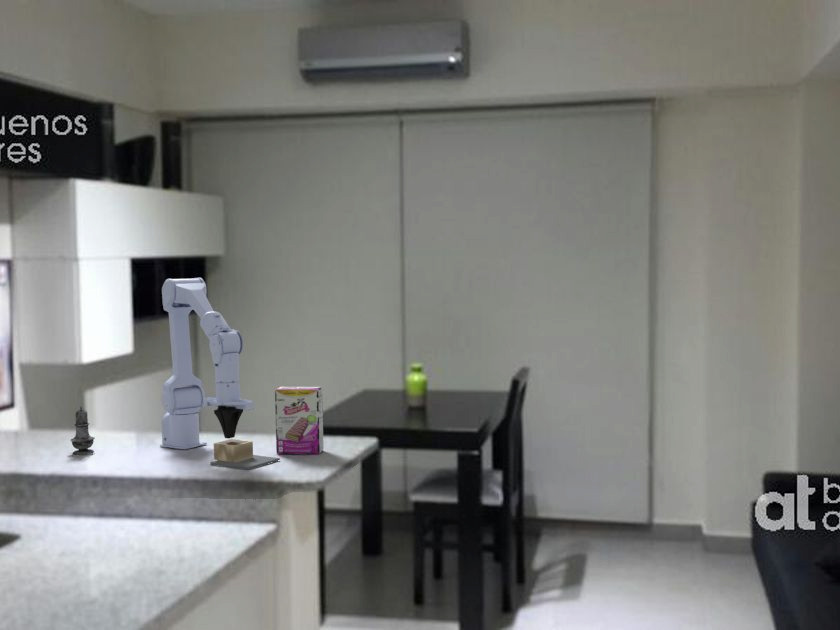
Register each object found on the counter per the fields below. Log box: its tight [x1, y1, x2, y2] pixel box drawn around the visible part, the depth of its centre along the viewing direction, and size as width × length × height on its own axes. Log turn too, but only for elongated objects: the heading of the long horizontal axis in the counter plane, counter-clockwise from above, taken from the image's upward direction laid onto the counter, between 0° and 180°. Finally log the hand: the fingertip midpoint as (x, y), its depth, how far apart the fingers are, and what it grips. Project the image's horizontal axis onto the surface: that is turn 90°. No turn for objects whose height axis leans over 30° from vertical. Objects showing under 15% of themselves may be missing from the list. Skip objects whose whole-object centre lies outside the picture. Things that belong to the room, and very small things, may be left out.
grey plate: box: [209, 454, 281, 471], centre depth 225 cm, size 12×11×1 cm
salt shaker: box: [70, 406, 95, 456], centre depth 242 cm, size 6×6×12 cm
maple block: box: [213, 438, 254, 463], centre depth 227 cm, size 4×6×7 cm
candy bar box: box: [274, 386, 324, 455], centre depth 235 cm, size 11×5×16 cm, turn 84°
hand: (229, 437), depth 228 cm, fingers closed
